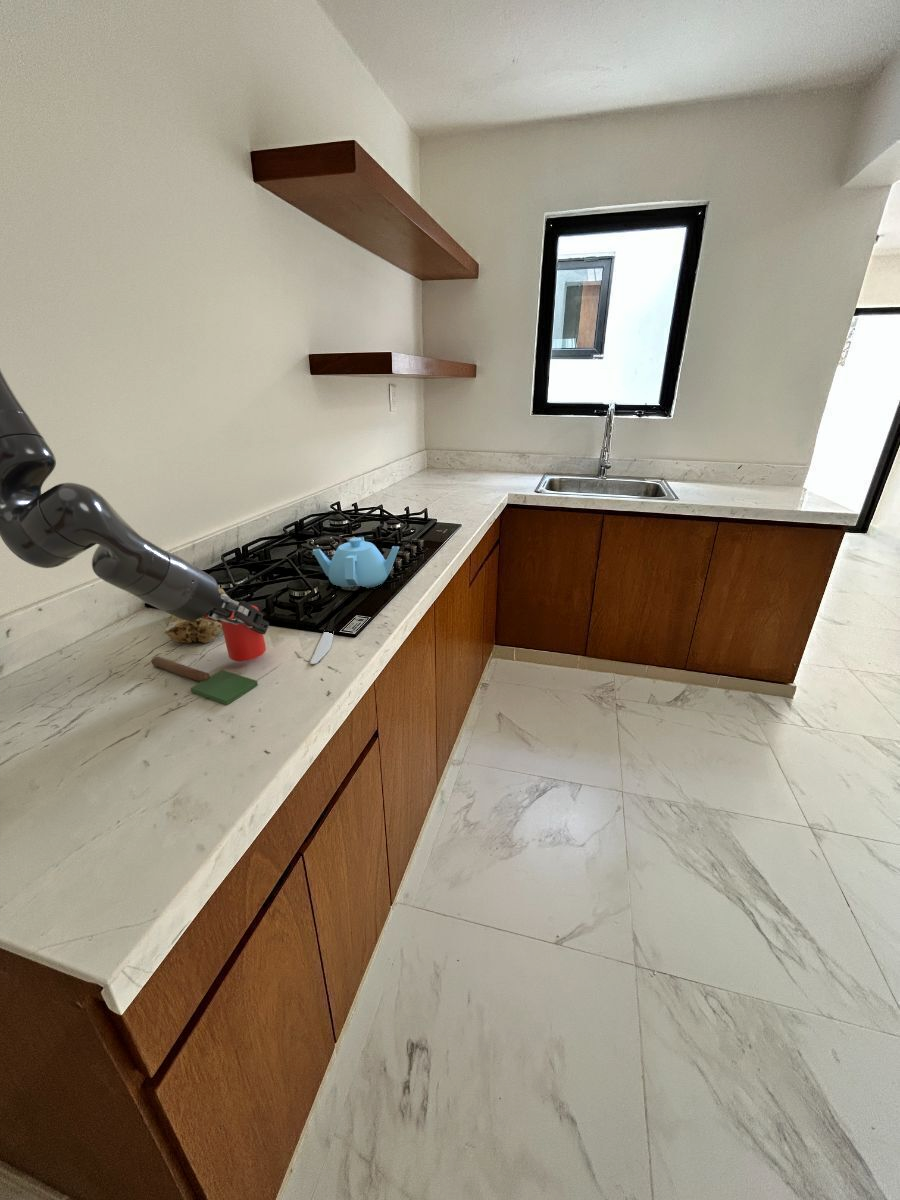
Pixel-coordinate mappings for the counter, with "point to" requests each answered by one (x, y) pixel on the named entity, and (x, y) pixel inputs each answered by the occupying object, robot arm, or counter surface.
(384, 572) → the teapot
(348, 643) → the counter surface
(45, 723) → the counter surface
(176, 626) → the sponge
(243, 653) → the pepper
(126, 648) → the counter surface
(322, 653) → the butter knife
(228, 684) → the spatula
